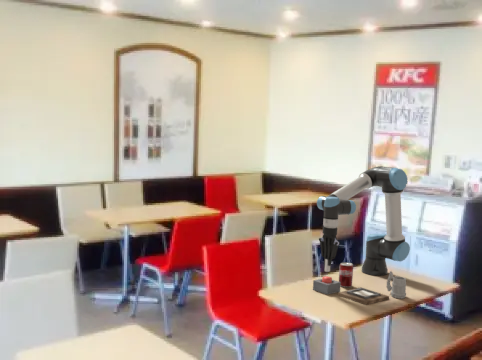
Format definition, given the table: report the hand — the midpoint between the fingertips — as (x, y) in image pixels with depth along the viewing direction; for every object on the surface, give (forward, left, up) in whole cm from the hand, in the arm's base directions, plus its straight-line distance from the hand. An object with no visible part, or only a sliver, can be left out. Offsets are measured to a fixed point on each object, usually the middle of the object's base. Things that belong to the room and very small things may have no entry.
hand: (327, 271), depth 307 cm
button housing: (0, 0, -11) cm, 11 cm away
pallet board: (-8, +18, -11) cm, 22 cm away
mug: (-25, +25, -11) cm, 37 cm away
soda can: (-16, -1, -11) cm, 20 cm away
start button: (0, 0, -9) cm, 9 cm away
